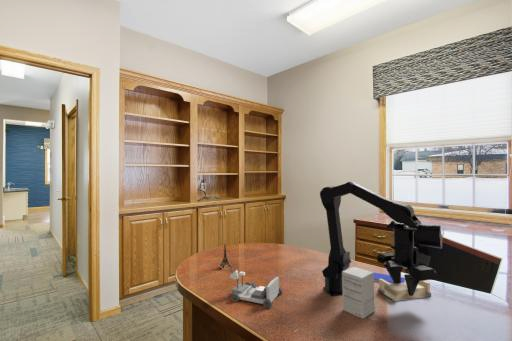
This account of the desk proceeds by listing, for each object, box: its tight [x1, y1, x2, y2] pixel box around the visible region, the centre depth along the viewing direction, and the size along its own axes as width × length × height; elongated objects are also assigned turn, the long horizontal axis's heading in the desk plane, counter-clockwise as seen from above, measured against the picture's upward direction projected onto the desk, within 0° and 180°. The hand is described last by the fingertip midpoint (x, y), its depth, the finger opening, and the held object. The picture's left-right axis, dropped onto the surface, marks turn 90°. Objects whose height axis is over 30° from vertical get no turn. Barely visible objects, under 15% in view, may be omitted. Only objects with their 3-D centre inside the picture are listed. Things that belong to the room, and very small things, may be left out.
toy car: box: [228, 269, 283, 309], centre depth 97 cm, size 18×10×12 cm
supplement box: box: [342, 266, 376, 319], centre depth 86 cm, size 7×7×13 cm
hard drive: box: [372, 271, 406, 284], centre depth 111 cm, size 2×8×12 cm
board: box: [383, 281, 426, 302], centre depth 86 cm, size 11×5×3 cm, turn 104°
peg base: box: [377, 279, 432, 298], centre depth 99 cm, size 15×9×4 cm, turn 104°
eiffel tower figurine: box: [219, 243, 232, 268], centre depth 129 cm, size 15×10×13 cm
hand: (404, 292), depth 86 cm, fingers closed on board, 5 cm apart
